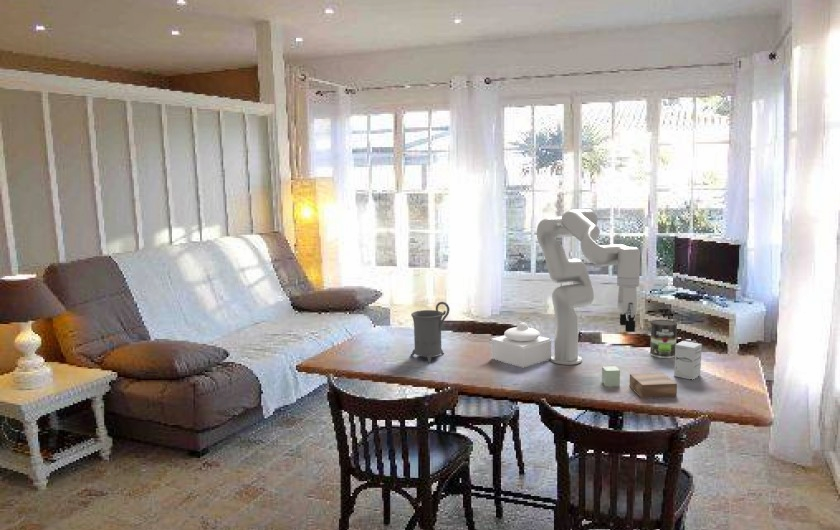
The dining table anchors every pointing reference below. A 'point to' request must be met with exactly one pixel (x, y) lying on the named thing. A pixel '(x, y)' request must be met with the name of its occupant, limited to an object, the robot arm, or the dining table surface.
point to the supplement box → (687, 360)
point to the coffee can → (663, 338)
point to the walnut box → (653, 385)
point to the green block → (611, 376)
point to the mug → (428, 331)
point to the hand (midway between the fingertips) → (627, 328)
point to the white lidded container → (521, 346)
